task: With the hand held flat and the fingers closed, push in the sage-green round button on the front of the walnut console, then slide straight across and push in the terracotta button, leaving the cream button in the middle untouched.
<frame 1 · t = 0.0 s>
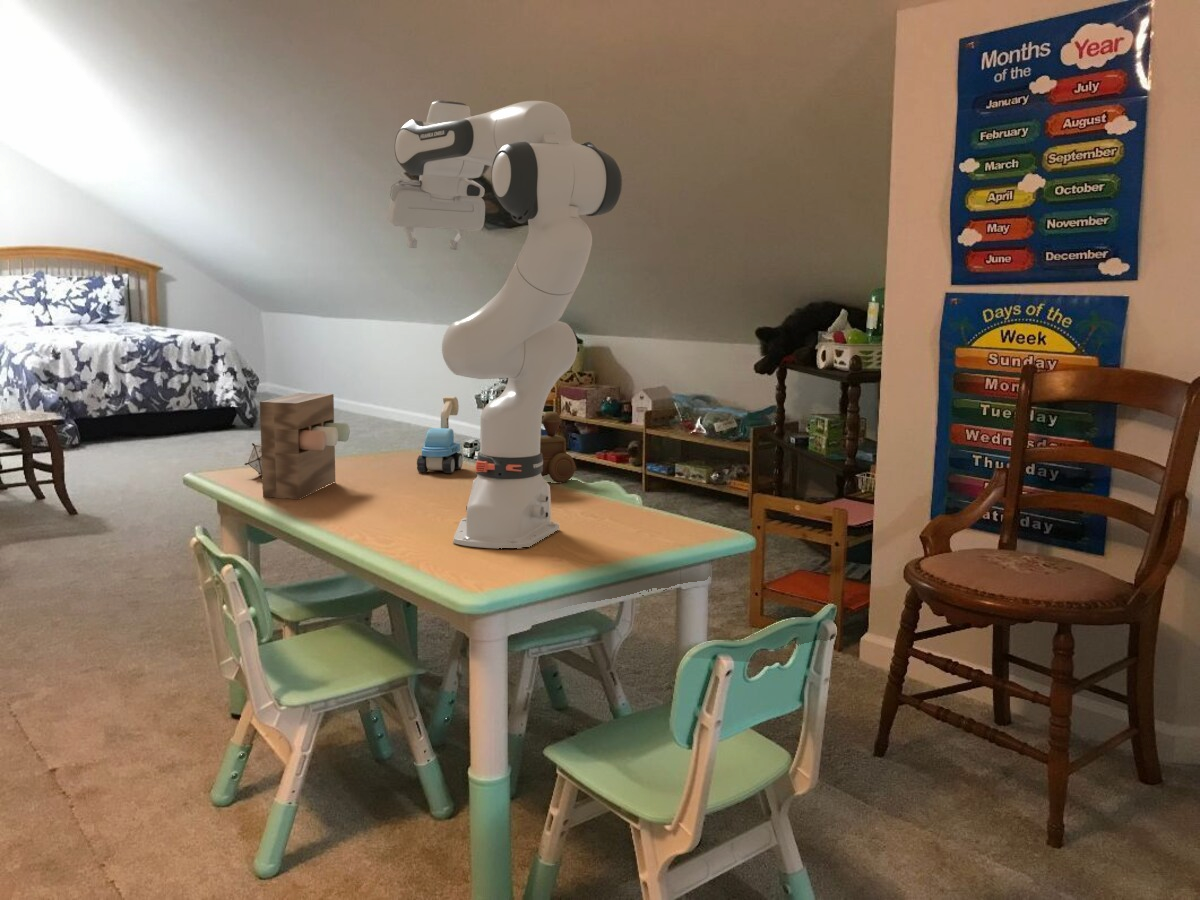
hand: (433, 248, 206), 52 cm above the table, tool tilted 20°, fingers open, 8 cm apart
wooden toy train: (530, 482, 227), on the table
sage button: (332, 431, 216), point 12 cm above the table, slide at 0.0 cm
walnut console: (300, 489, 212), on the table
game die: (266, 477, 226), on the table
terracotta button: (308, 440, 204), point 12 cm above the table, slide at 0.0 cm
cream button: (321, 435, 210), point 12 cm above the table, slide at 0.0 cm
toy excavator: (444, 469, 240), on the table
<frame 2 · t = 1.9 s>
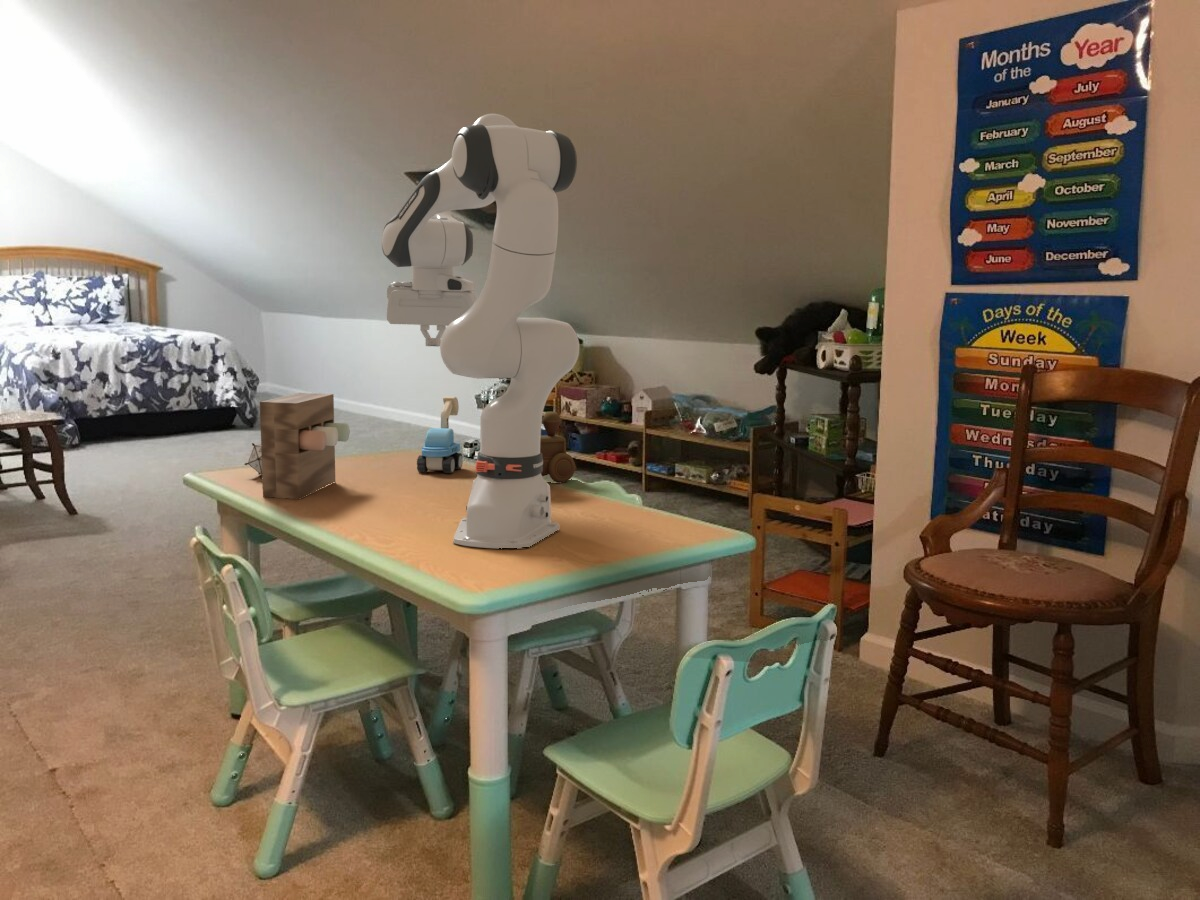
hand: (433, 346, 215), 31 cm above the table, tool pointing down, fingers closed
nothing on the table moved.
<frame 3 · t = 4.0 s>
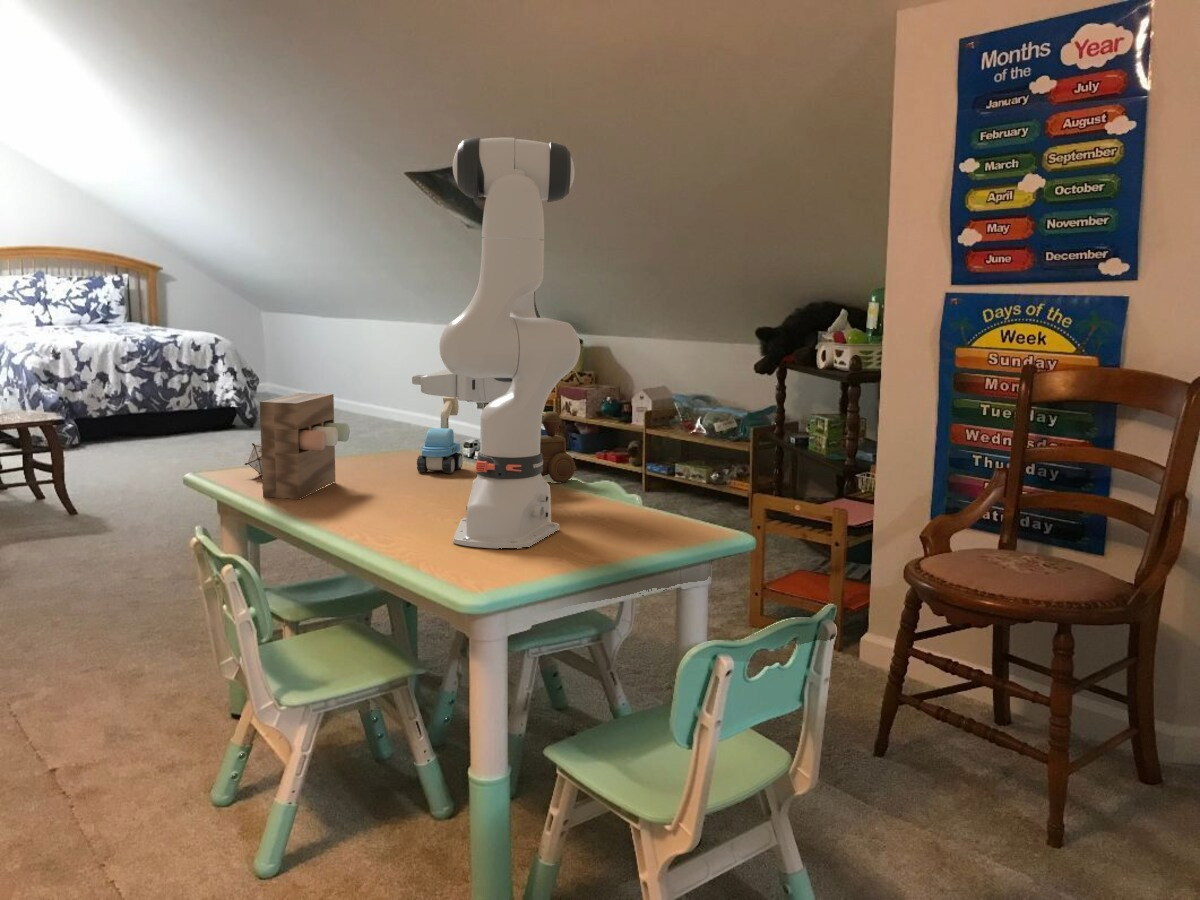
hand: (414, 379, 213), 24 cm above the table, tool horizontal, fingers closed
nothing on the table moved.
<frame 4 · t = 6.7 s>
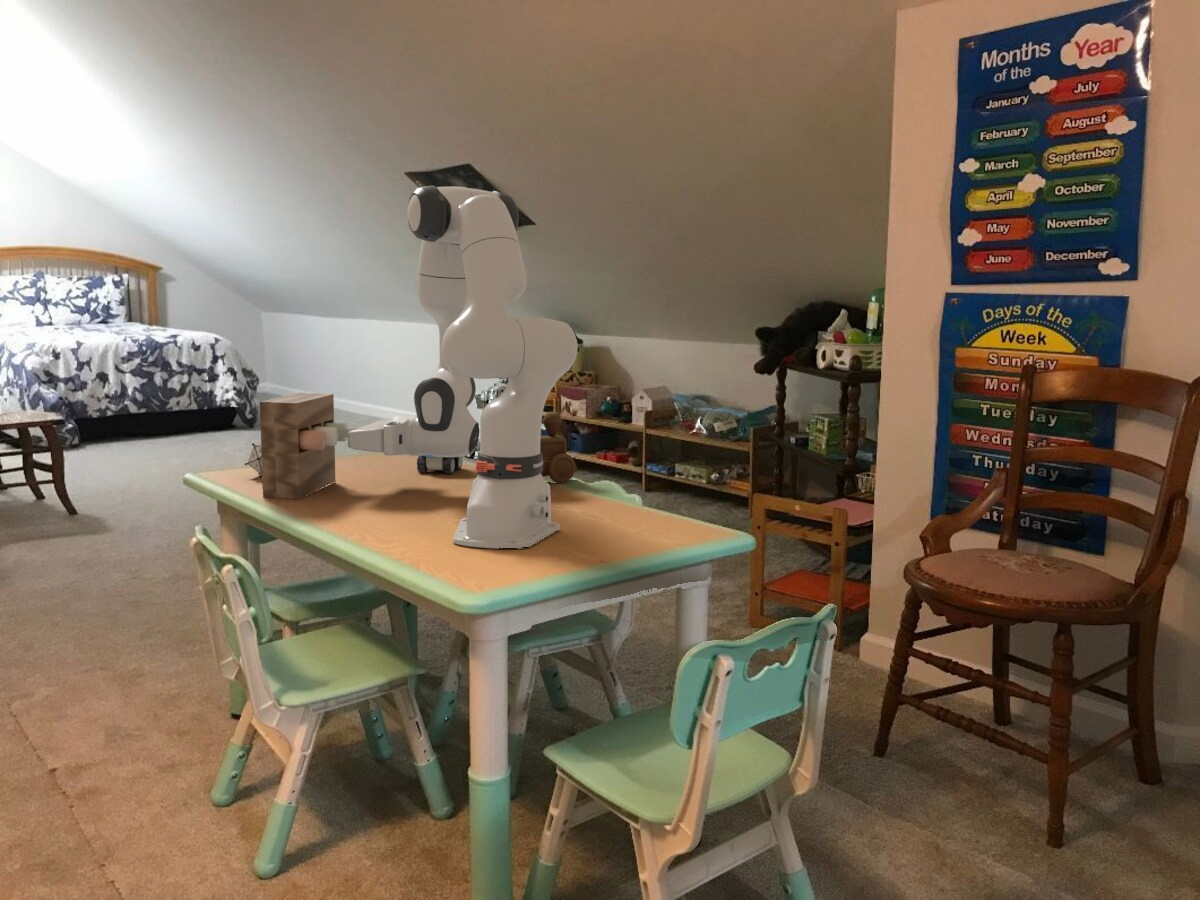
hand: (344, 432, 215), 12 cm above the table, tool horizontal, fingers closed, pressing on sage button
sage button: (331, 431, 216), point 12 cm above the table, slide at 0.4 cm, touching gripper
everything else where it was.
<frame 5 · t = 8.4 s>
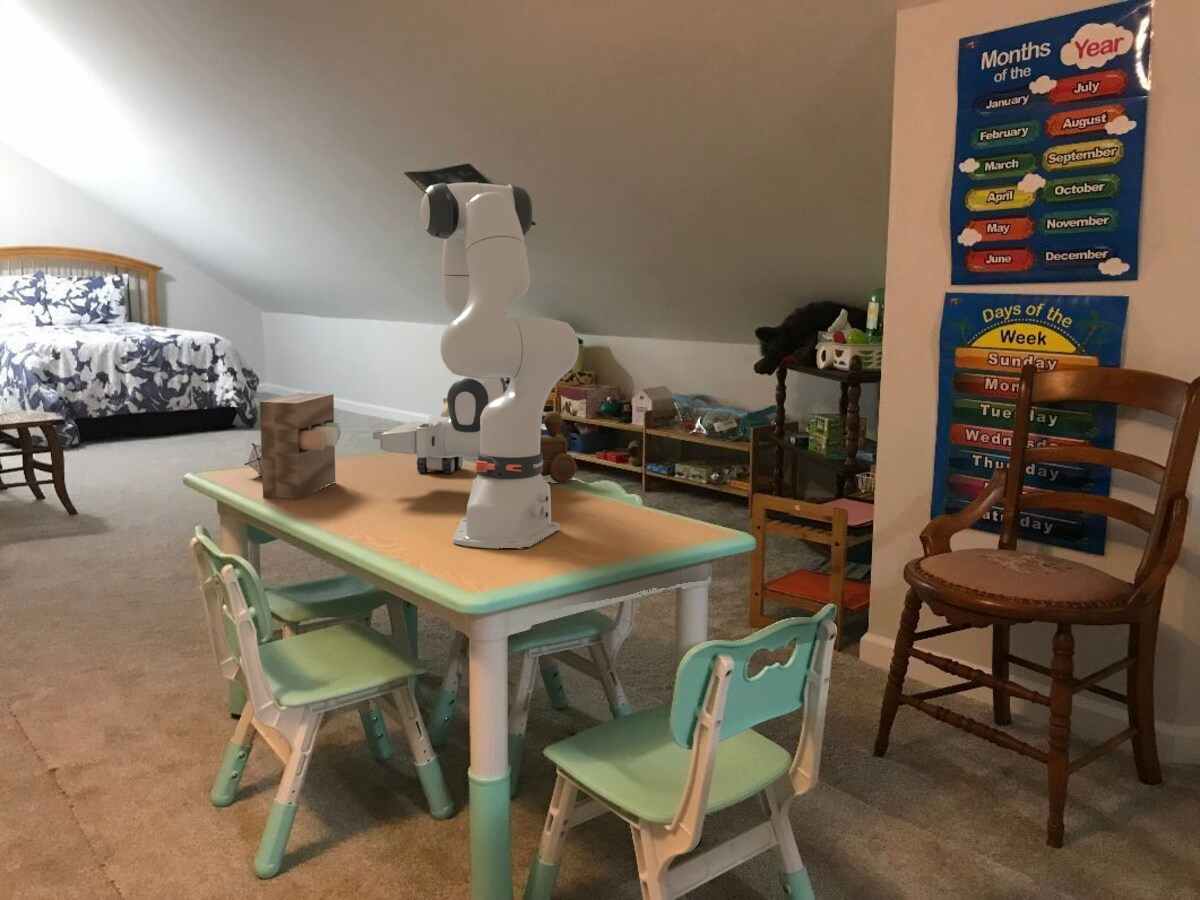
hand: (375, 434, 214), 12 cm above the table, tool horizontal, fingers closed
wooden toy train: (531, 482, 227), on the table, touching arm
sage button: (323, 431, 216), point 12 cm above the table, slide at 2.1 cm
everything else where it was.
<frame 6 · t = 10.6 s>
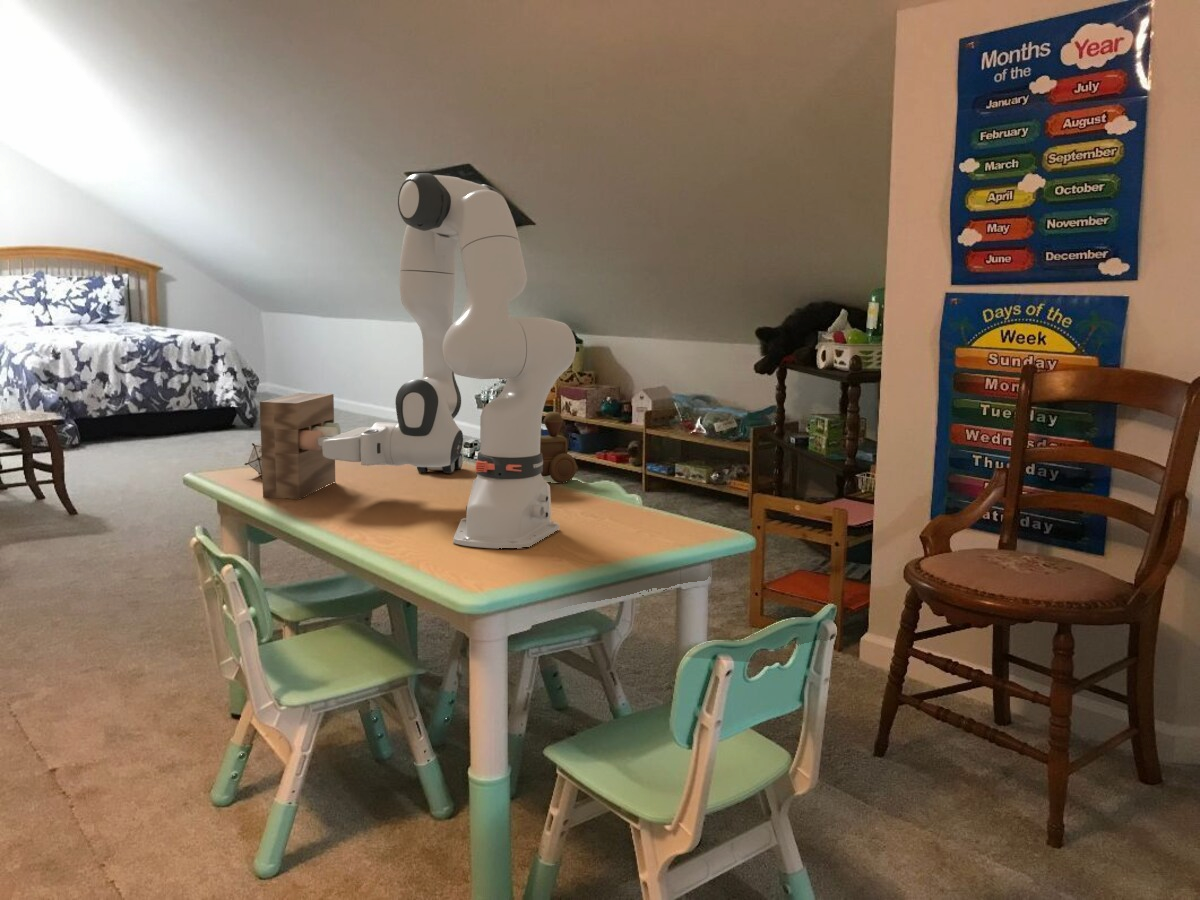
hand: (320, 440, 204), 12 cm above the table, tool horizontal, fingers closed, pressing on terracotta button
wooden toy train: (532, 482, 227), on the table
terracotta button: (306, 440, 204), point 12 cm above the table, slide at 0.5 cm, touching gripper
everything else where it was.
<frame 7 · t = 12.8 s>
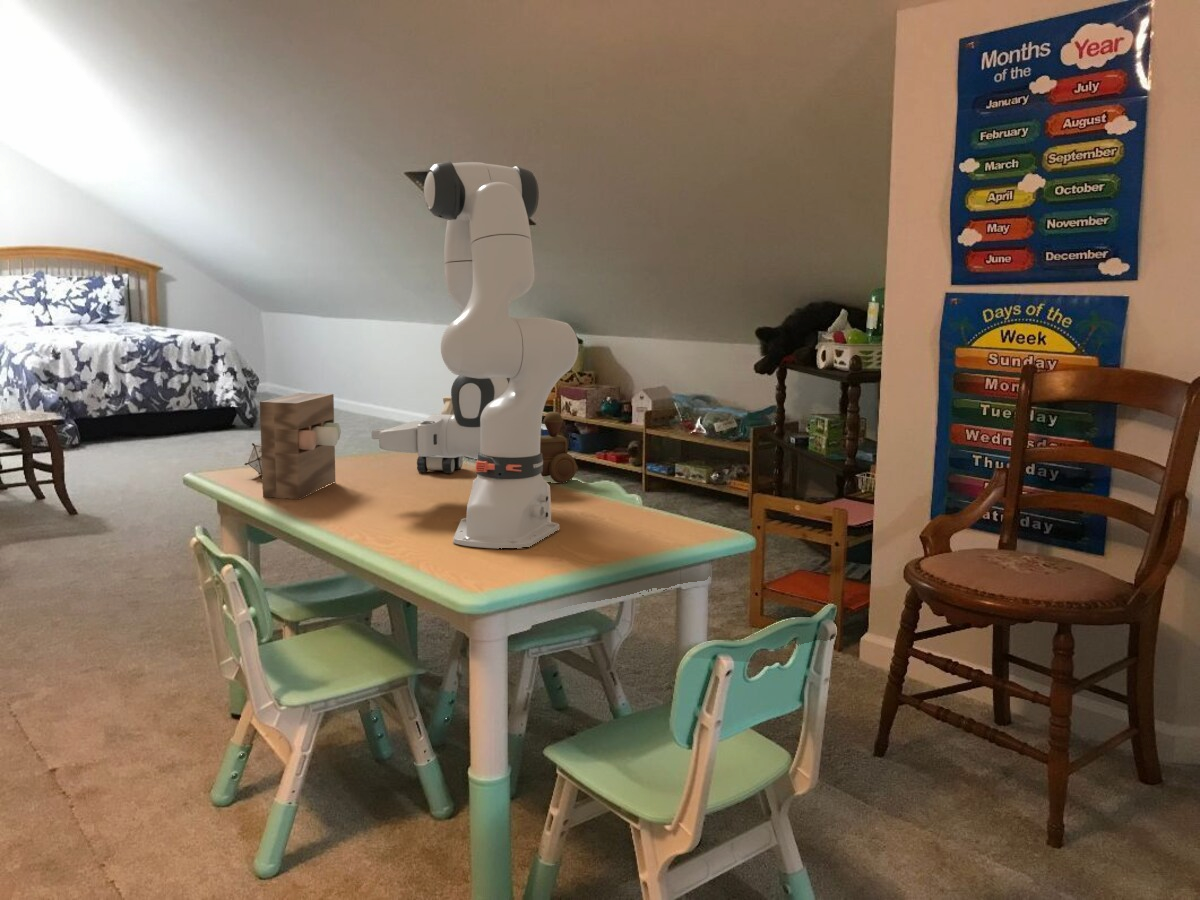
hand: (374, 433, 202), 14 cm above the table, tool horizontal, fingers closed
terracotta button: (299, 439, 204), point 12 cm above the table, slide at 2.1 cm
everything else where it was.
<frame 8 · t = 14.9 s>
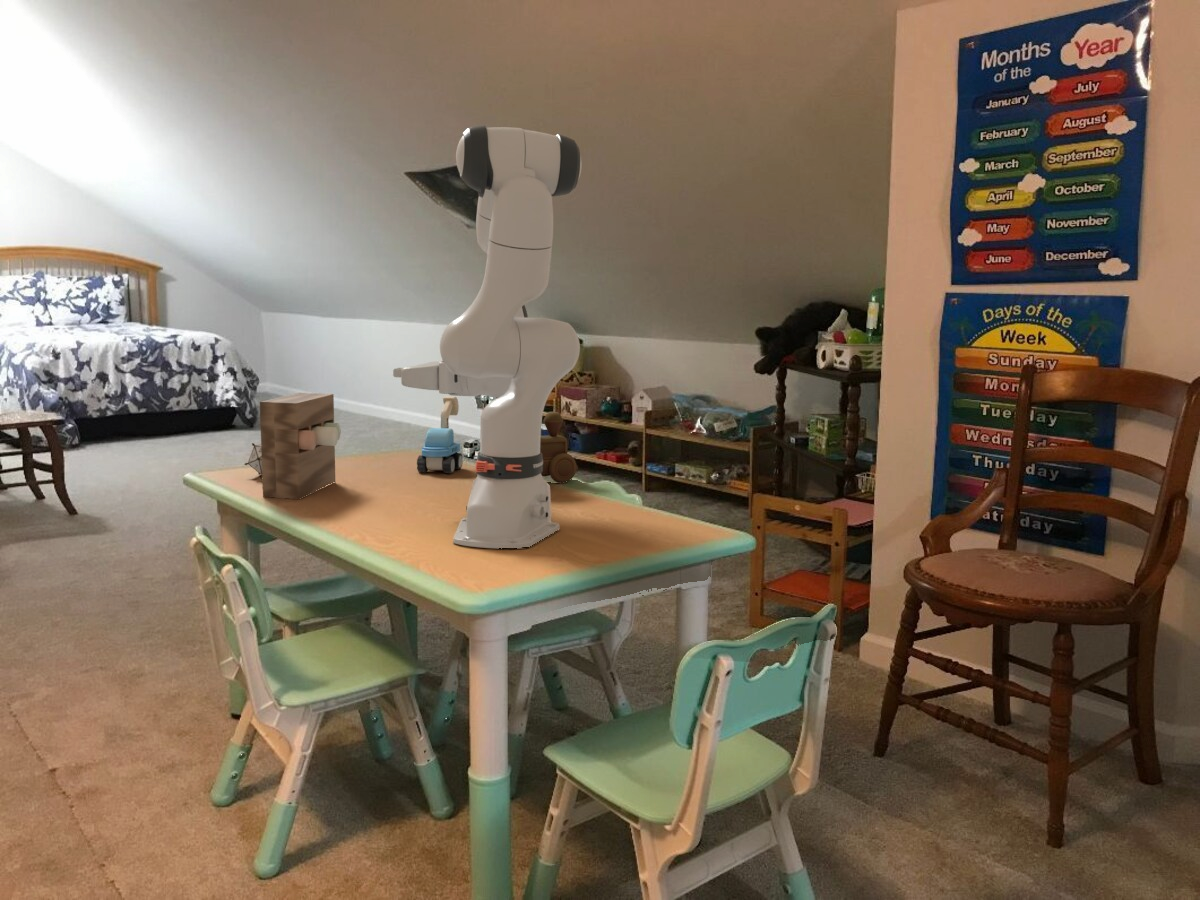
hand: (395, 372, 207), 26 cm above the table, tool horizontal, fingers closed
nothing on the table moved.
at the end: sage button slide at 2.1 cm; terracotta button slide at 2.1 cm; cream button slide at 0.0 cm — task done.
